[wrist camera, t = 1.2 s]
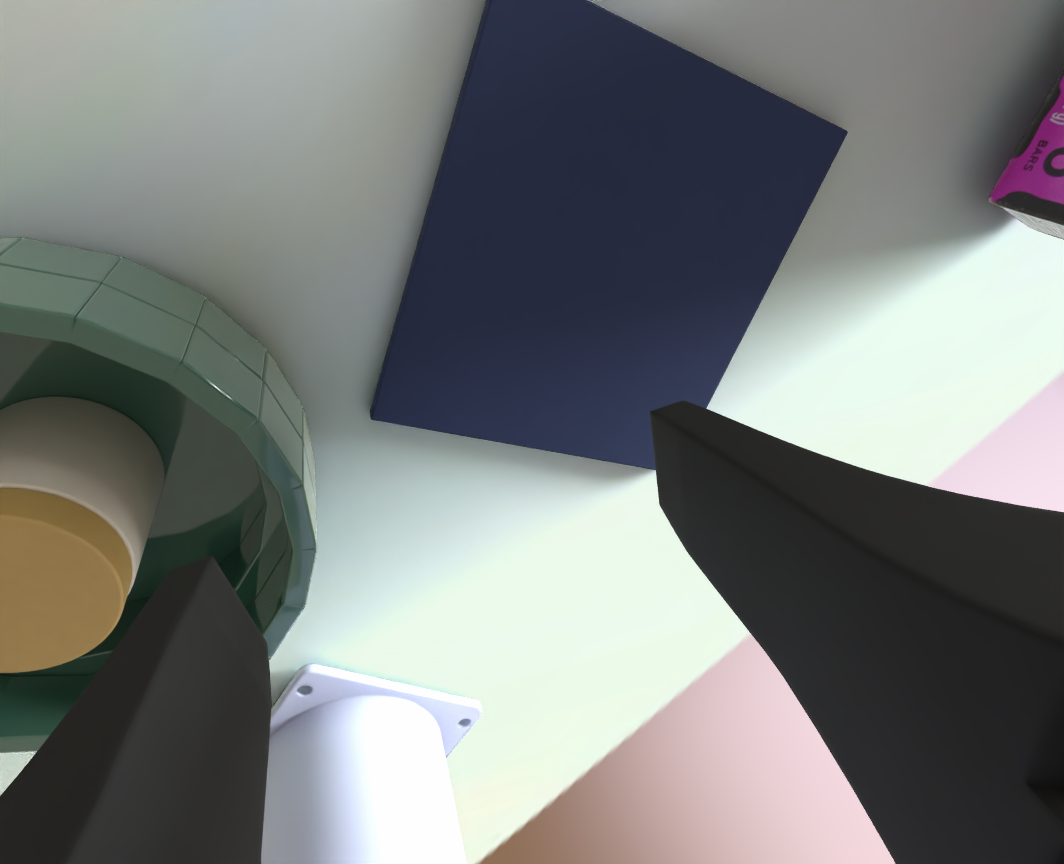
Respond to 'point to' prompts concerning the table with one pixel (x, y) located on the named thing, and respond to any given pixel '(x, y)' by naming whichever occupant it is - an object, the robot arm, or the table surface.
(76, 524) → the cream jar
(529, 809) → the table surface
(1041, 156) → the candy bar box
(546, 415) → the napkin
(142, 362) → the bowl
